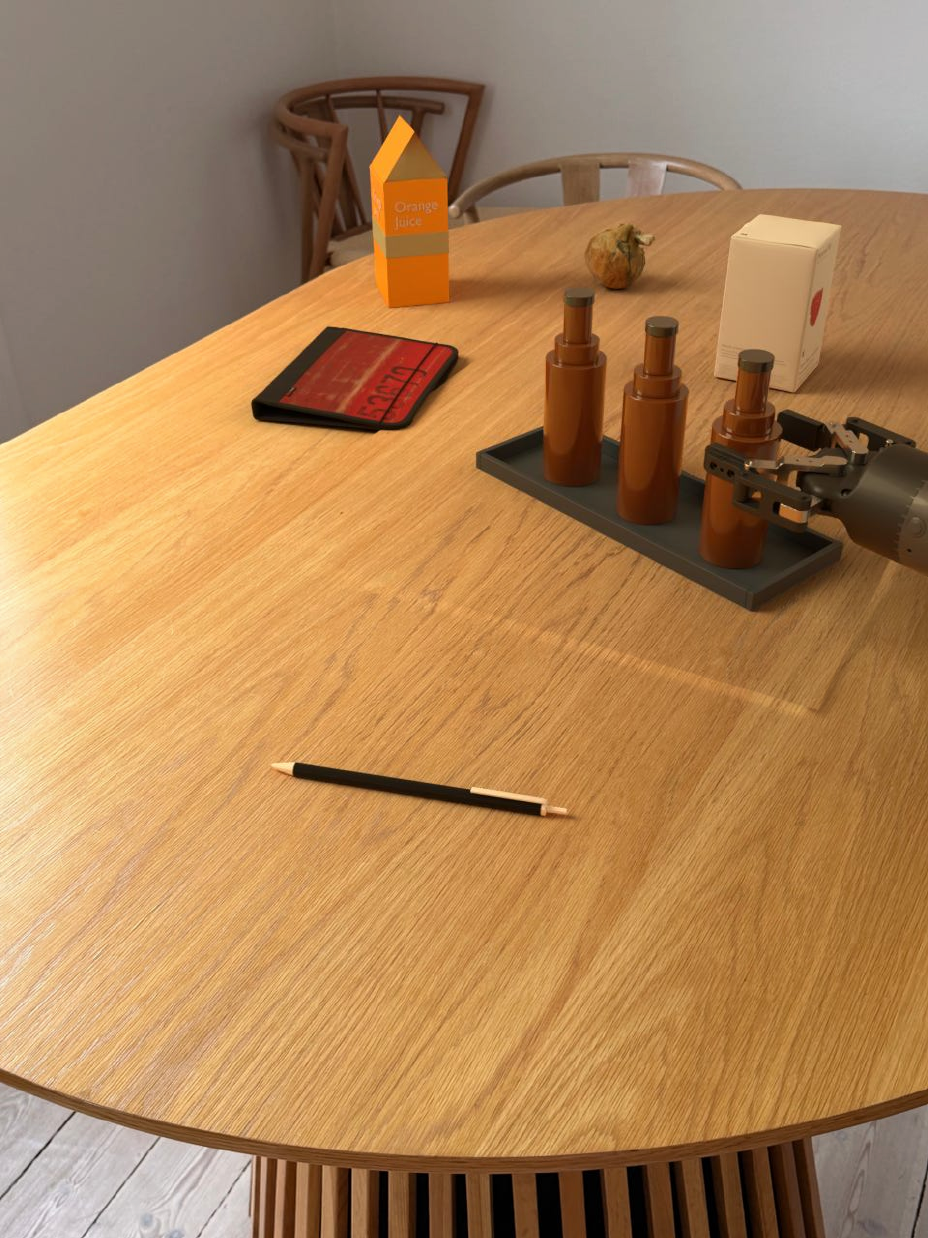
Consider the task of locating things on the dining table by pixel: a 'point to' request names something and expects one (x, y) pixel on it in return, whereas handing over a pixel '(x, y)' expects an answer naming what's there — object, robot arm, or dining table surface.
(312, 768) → the pen
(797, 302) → the white product box
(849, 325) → the dining table surface
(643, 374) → the bottle
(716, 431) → the bottle
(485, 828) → the dining table surface
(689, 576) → the tray
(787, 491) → the robot arm
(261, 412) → the binder
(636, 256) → the onion
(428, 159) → the orange juice
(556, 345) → the bottle
